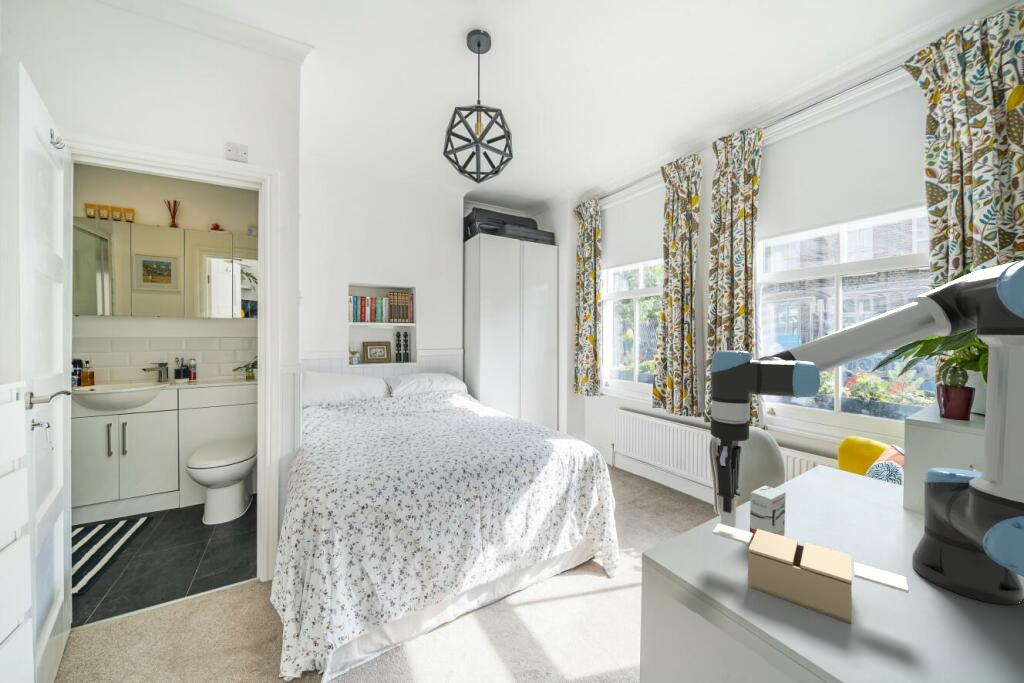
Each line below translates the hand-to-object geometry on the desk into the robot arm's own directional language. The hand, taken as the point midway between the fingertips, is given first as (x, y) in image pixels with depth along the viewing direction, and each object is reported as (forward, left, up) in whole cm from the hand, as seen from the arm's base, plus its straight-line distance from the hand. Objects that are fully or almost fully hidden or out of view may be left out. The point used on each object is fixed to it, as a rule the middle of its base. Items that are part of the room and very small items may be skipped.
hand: (728, 524), depth 87 cm
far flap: (-5, 0, -2) cm, 5 cm away
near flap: (-21, 0, -2) cm, 21 cm away
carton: (-13, 0, -9) cm, 16 cm away
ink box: (-5, -20, -10) cm, 23 cm away
